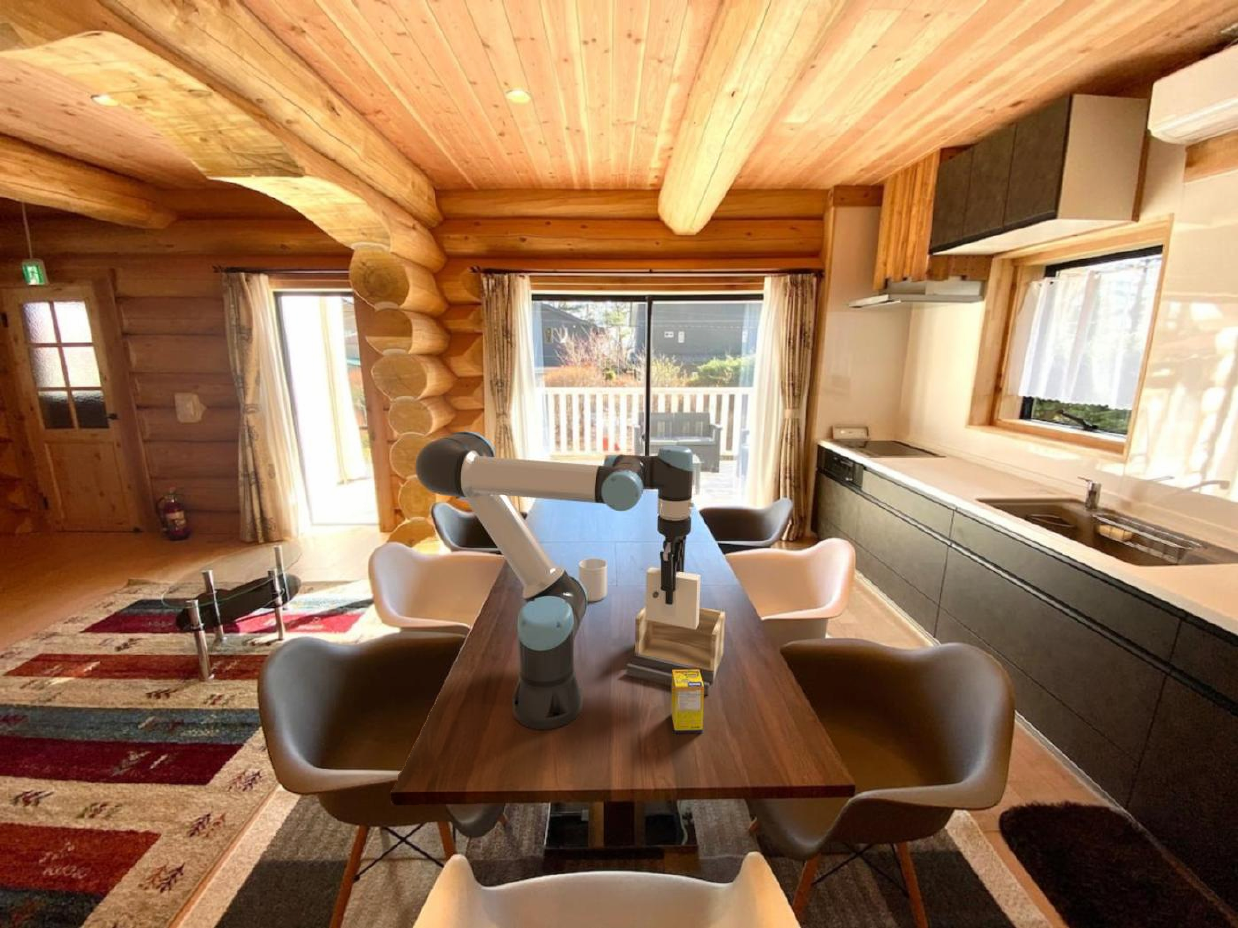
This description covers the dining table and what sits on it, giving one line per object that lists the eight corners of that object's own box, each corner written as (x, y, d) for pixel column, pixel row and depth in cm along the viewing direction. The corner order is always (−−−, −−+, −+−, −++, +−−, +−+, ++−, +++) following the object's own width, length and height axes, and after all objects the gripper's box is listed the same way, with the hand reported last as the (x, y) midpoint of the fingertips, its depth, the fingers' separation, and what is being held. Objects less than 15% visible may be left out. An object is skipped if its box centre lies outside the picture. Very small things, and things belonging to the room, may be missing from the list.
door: (694, 631, 117) (696, 582, 114) (644, 621, 121) (644, 573, 118) (698, 623, 120) (700, 575, 118) (649, 613, 125) (650, 567, 122)
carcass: (708, 695, 118) (710, 647, 115) (626, 674, 125) (626, 629, 123) (723, 653, 134) (725, 611, 132) (650, 638, 141) (651, 597, 139)
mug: (604, 603, 161) (604, 570, 158) (576, 601, 162) (576, 568, 160) (610, 586, 172) (610, 555, 170) (584, 584, 174) (583, 553, 171)
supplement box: (697, 713, 112) (699, 668, 110) (702, 733, 106) (704, 686, 104) (670, 713, 112) (671, 668, 110) (674, 733, 106) (675, 686, 104)
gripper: (680, 528, 107) (678, 631, 112) (699, 507, 121) (696, 599, 126) (646, 524, 110) (645, 624, 115) (668, 503, 124) (666, 594, 129)
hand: (672, 611), depth 121 cm, fingers closed on door, 3 cm apart
